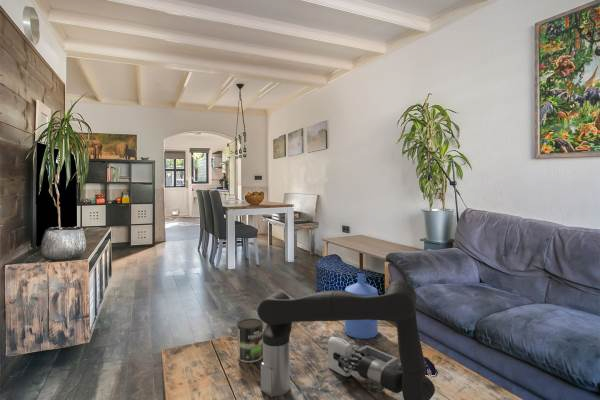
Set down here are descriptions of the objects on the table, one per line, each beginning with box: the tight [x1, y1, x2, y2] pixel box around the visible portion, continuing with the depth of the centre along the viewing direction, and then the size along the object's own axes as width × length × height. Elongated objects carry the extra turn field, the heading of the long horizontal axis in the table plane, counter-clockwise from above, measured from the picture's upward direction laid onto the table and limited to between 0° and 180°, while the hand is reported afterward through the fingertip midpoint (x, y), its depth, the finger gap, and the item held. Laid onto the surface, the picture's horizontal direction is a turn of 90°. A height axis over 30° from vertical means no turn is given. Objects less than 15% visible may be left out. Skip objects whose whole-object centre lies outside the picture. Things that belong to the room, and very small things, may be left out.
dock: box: [354, 345, 402, 370], centre depth 140 cm, size 12×17×4 cm
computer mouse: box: [424, 356, 437, 376], centre depth 137 cm, size 9×15×4 cm, turn 3°
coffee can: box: [236, 318, 264, 364], centre depth 146 cm, size 10×10×14 cm
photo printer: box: [327, 336, 353, 377], centre depth 135 cm, size 10×4×12 cm, turn 39°
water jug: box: [343, 273, 379, 340], centre depth 168 cm, size 16×16×28 cm
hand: (338, 353), depth 135 cm, fingers closed on photo printer, 4 cm apart
